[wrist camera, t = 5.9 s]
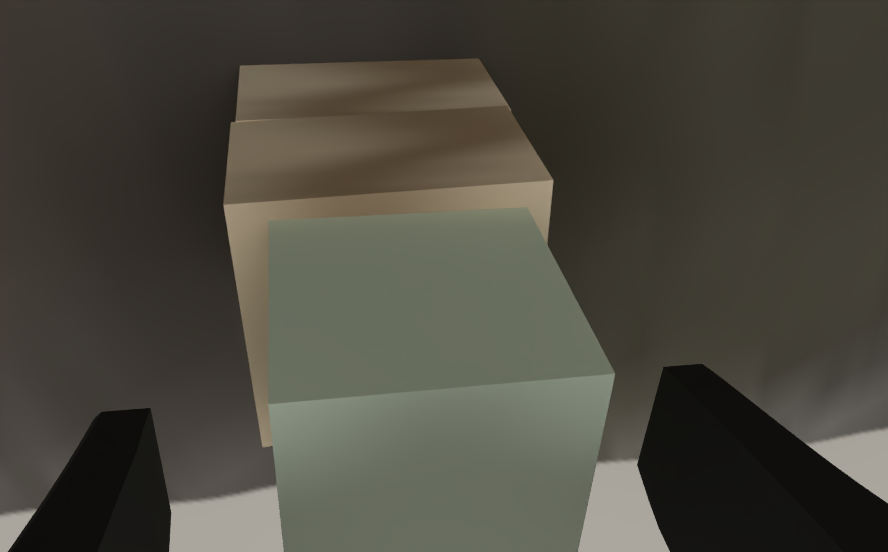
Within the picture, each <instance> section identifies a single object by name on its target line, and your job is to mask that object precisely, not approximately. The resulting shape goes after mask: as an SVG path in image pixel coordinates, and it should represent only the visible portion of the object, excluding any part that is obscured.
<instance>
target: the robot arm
mask: <svg viewBox="0 0 888 552" xmlns="http://www.w3.org/2000/svg"><path fill="white" fill-rule="evenodd" d="M637 466H638V469H639V472H640V475H641V478H642V481H643V484H644V487H645V490H646V493H647V496H648V499H649V502H650V505H651V508H652V510H653V513H654V516H655V518H656V521H657V524H658V527H659V529H660V531H661V534H662V535H663V538H664V540H665V542H666V544H667V546H668V548H669V550H670V552H888V503H886V502H885V501H883V500H882V499H880V498H879V497H878V496H876V495H875V494H873V493H872V492H870V491H869V490H868V489H866V488H865V487H863V486H862V485H860V484H859V483H857V482H856V481H855V480H853V479H852V478H851V477H849V476H848V475H847V474H845V473H844V472H842V471H841V470H839V469H838V468H837V467H836V466H834V465H833V464H831V463H830V462H829V461H827V460H826V459H825V458H823V457H822V456H821V455H819V454H818V453H817V452H816V451H814V450H813V449H812V448H810V447H809V446H808V445H806V444H805V443H804V442H802V441H801V440H800V439H799V438H797V437H796V436H795V435H793V434H792V433H791V432H790V431H788V430H787V429H786V428H784V427H783V426H782V425H781V424H779V423H778V422H777V421H775V420H774V419H773V418H772V417H770V416H769V415H768V414H767V413H765V412H764V411H763V410H761V409H760V408H759V407H758V406H756V405H755V404H754V403H753V402H751V401H750V400H749V399H748V398H746V397H745V396H744V395H742V394H741V393H740V392H739V391H737V390H736V389H735V388H734V387H732V386H731V385H730V384H728V383H727V382H726V381H725V380H723V379H722V378H721V377H719V376H718V375H717V374H715V373H714V372H713V371H711V370H710V369H708V368H707V367H706V366H704V365H703V364H695V365H682V366H670V367H663V371H662V375H661V378H660V382H659V386H658V390H657V393H656V397H655V401H654V404H653V408H652V412H651V415H650V419H649V423H648V427H647V430H646V434H645V438H644V441H643V445H642V449H641V453H640V456H639V460H638V464H637ZM170 522H171V510H170V504H169V499H168V494H167V489H166V484H165V479H164V474H163V469H162V464H161V459H160V454H159V449H158V444H157V439H156V434H155V429H154V424H153V419H152V414H151V409H150V408H145V409H132V410H120V411H107V412H101V413H100V414H99V415H98V416H97V417H96V418H95V419H94V420H93V422H92V423H91V425H90V427H89V428H88V430H87V432H86V434H85V435H84V437H83V439H82V440H81V442H80V444H79V445H78V447H77V449H76V450H75V452H74V454H73V455H72V457H71V458H70V460H69V462H68V463H67V465H66V466H65V468H64V470H63V471H62V473H61V474H60V476H59V477H58V479H57V480H56V482H55V484H54V485H53V487H52V488H51V490H50V491H49V493H48V494H47V496H46V497H45V499H44V500H43V502H42V503H41V505H40V506H39V508H38V509H37V511H36V512H35V513H34V515H33V516H32V518H31V519H30V521H29V522H28V524H27V525H26V526H25V528H24V529H23V531H22V532H21V534H20V535H19V537H18V538H17V540H16V541H15V542H14V544H13V545H12V547H11V548H10V549H9V551H8V552H169V543H170V525H171V523H170Z"/></svg>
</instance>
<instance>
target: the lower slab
mask: <svg viewBox="0 0 888 552" xmlns="http://www.w3.org/2000/svg"><path fill="white" fill-rule="evenodd" d="M493 106H508V108H509V110H510V111H511V109H510V107H509V105H508V104H507V102H506V101H505V99H504V98H503V96H502V94H501V93H500V91H499V90H498V88H497V86H496V85H495V83H494V82H493V80H492V78H491V77H490V75H489V74H488V72H487V71H486V69H485V67H484V66H483V64H482V63H481V61H480V59H479V58H475V59H442V60H409V61H376V62H343V63H310V64H277V65H244V66H240V72H239V85H238V97H237V110H236V122H242V121H259V120H276V119H292V118H309V117H326V116H343V115H359V114H376V113H393V112H410V111H426V110H443V109H460V108H477V107H493Z"/></svg>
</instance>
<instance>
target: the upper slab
mask: <svg viewBox="0 0 888 552" xmlns="http://www.w3.org/2000/svg"><path fill="white" fill-rule="evenodd" d="M552 190H553V179H552V177H551V175H550V174H549V172H548V171H547V169H546V167H545V166H544V164H543V163H542V161H541V159H540V158H539V156H538V155H537V153H536V151H535V150H534V148H533V147H532V145H531V143H530V142H529V140H528V138H527V137H526V135H525V134H524V132H523V130H522V129H521V127H520V126H519V124H518V122H517V121H516V119H515V118H514V116H513V114H512V113H511V111H510V110H509V108H508V106H493V107H477V108H460V109H443V110H426V111H410V112H393V113H376V114H359V115H343V116H326V117H309V118H292V119H276V120H259V121H242V122H231V126H230V137H229V148H228V159H227V171H226V182H225V193H224V204H223V206H224V212H225V218H226V224H227V230H228V236H229V243H230V249H231V255H232V261H233V267H234V274H235V280H236V286H237V292H238V298H239V304H240V311H241V317H242V323H243V329H244V335H245V342H246V348H247V354H248V360H249V366H250V373H251V379H252V385H253V391H254V397H255V403H256V410H257V416H258V422H259V428H260V434H261V441H262V447H267V446H273V444H272V434H271V425H270V415H269V406H268V294H269V220H289V219H309V218H328V217H348V216H368V215H388V214H407V213H427V212H447V211H466V210H486V209H506V208H526V207H528V209H529V211H530V213H531V215H532V217H533V219H534V221H535V223H536V225H537V226H538V228H539V230H540V232H541V234H542V236H543V238H544V240H545V242H546V243H547V241H548V230H549V220H550V210H551V200H552Z"/></svg>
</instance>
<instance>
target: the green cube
mask: <svg viewBox="0 0 888 552" xmlns="http://www.w3.org/2000/svg"><path fill="white" fill-rule="evenodd" d="M614 377H615V372H614V370H613V368H612V367H611V365H610V363H609V361H608V359H607V357H606V355H605V353H604V351H603V350H602V348H601V346H600V344H599V342H598V340H597V338H596V336H595V334H594V333H593V331H592V329H591V327H590V325H589V323H588V321H587V319H586V317H585V315H584V314H583V312H582V310H581V308H580V306H579V304H578V302H577V300H576V298H575V297H574V295H573V293H572V291H571V289H570V287H569V285H568V283H567V281H566V279H565V278H564V276H563V274H562V272H561V270H560V268H559V266H558V264H557V262H556V261H555V259H554V257H553V255H552V253H551V251H550V249H549V247H548V245H547V243H546V242H545V240H544V238H543V236H542V234H541V232H540V230H539V228H538V226H537V225H536V223H535V221H534V219H533V217H532V215H531V213H530V211H529V209H528V207H526V208H506V209H486V210H466V211H447V212H427V213H407V214H388V215H368V216H348V217H328V218H309V219H289V220H269V294H268V406H269V415H270V425H271V434H272V444H273V453H274V462H275V472H276V481H277V490H278V500H279V509H280V518H281V528H282V536H283V547H284V552H578V547H579V543H580V538H581V533H582V529H583V524H584V519H585V514H586V510H587V505H588V500H589V496H590V491H591V486H592V481H593V476H594V472H595V467H596V462H597V458H598V453H599V448H600V444H601V439H602V434H603V429H604V425H605V420H606V415H607V410H608V406H609V401H610V396H611V392H612V387H613V382H614Z"/></svg>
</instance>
